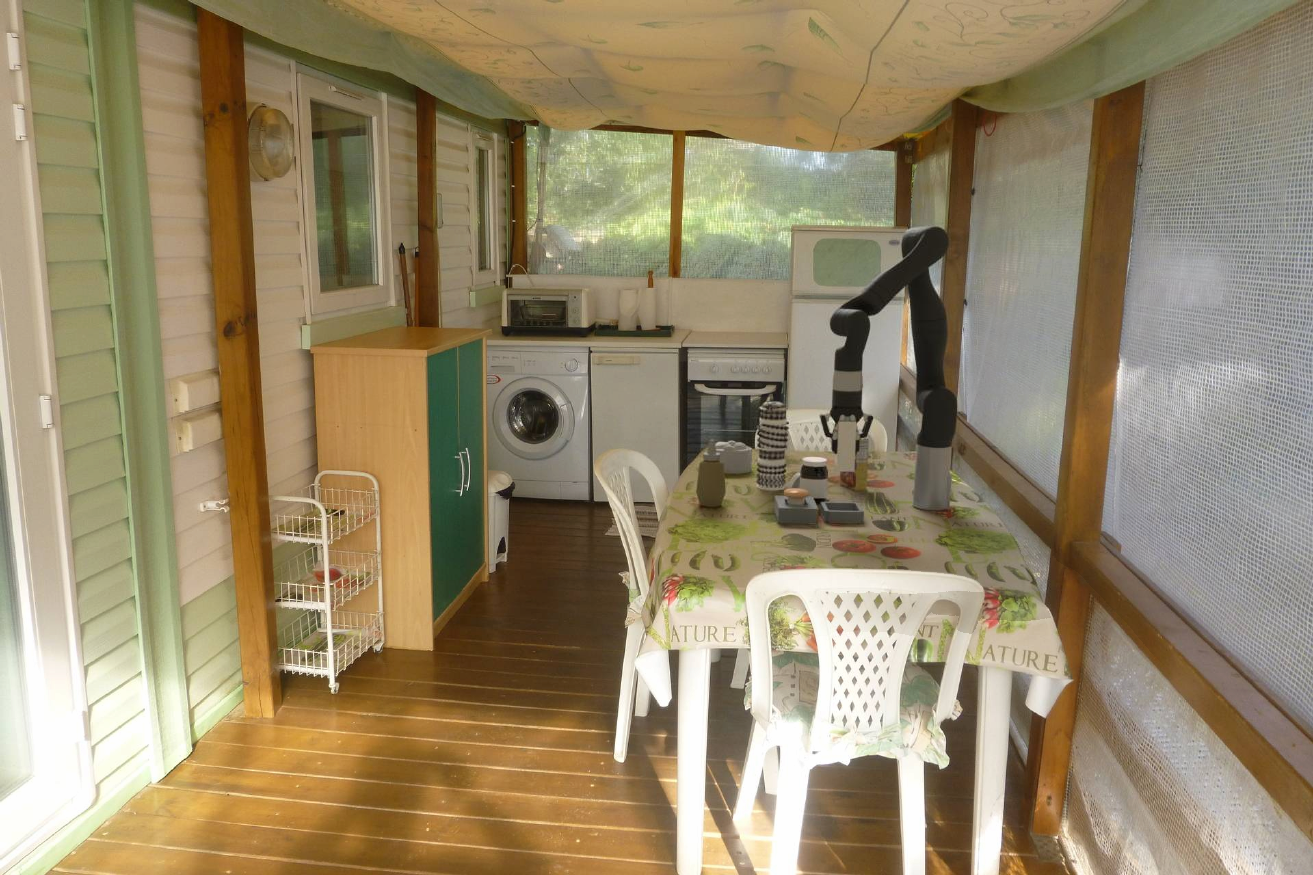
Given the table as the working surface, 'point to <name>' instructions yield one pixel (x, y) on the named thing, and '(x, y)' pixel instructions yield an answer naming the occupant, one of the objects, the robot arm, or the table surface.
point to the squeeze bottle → (711, 478)
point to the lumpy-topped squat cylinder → (735, 457)
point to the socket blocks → (809, 511)
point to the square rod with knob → (846, 446)
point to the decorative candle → (772, 446)
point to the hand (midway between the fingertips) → (844, 453)
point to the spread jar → (812, 478)
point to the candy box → (857, 469)
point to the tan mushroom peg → (796, 496)
